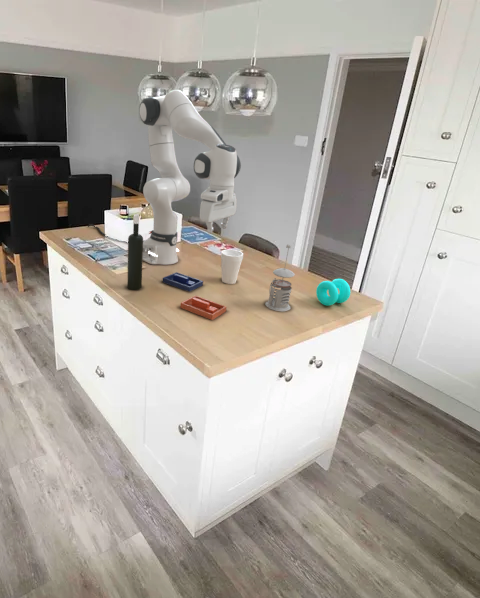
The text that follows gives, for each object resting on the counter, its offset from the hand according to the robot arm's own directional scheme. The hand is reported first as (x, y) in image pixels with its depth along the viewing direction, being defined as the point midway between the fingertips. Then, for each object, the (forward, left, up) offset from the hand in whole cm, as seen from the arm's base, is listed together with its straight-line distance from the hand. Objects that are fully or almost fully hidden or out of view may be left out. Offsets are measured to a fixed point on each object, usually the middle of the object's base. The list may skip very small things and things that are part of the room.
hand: (217, 230), depth 155 cm
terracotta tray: (+5, -12, -27) cm, 30 cm away
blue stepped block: (-15, +3, -27) cm, 31 cm away
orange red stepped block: (+5, -12, -27) cm, 30 cm away
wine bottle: (-27, -15, -27) cm, 41 cm away
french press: (+24, +11, -27) cm, 38 cm away
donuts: (+39, +30, -27) cm, 56 cm away
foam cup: (-3, +20, -27) cm, 34 cm away
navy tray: (-16, +2, -27) cm, 31 cm away
